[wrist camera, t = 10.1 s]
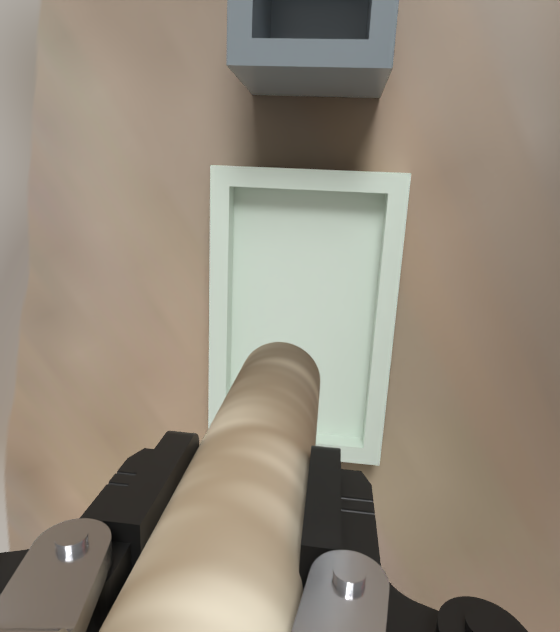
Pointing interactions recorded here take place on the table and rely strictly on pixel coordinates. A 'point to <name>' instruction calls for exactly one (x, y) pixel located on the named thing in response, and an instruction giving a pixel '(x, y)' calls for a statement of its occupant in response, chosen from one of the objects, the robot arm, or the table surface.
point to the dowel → (234, 512)
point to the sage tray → (310, 286)
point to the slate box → (312, 46)
